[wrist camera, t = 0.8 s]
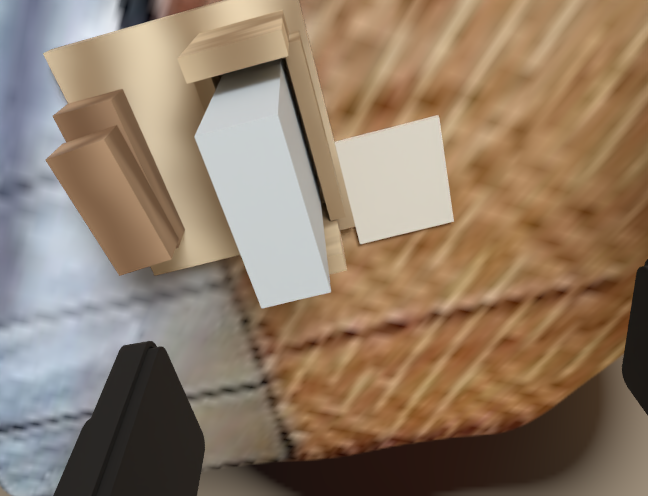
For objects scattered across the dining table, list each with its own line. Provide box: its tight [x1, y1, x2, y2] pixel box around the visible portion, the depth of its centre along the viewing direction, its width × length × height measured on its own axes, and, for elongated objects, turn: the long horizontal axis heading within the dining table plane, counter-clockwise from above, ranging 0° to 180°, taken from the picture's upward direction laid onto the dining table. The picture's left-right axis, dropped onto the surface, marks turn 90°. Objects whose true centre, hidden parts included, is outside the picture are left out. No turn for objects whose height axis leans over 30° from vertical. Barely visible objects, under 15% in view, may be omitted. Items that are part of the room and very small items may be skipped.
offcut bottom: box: [53, 89, 185, 248], centre depth 34 cm, size 4×10×2 cm, turn 14°
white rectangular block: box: [194, 58, 331, 308], centre depth 29 cm, size 4×9×12 cm, turn 14°
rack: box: [43, 0, 355, 276], centre depth 32 cm, size 15×16×8 cm
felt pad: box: [335, 115, 454, 244], centre depth 37 cm, size 7×8×1 cm
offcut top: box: [46, 125, 179, 276], centre depth 32 cm, size 4×8×2 cm, turn 18°
